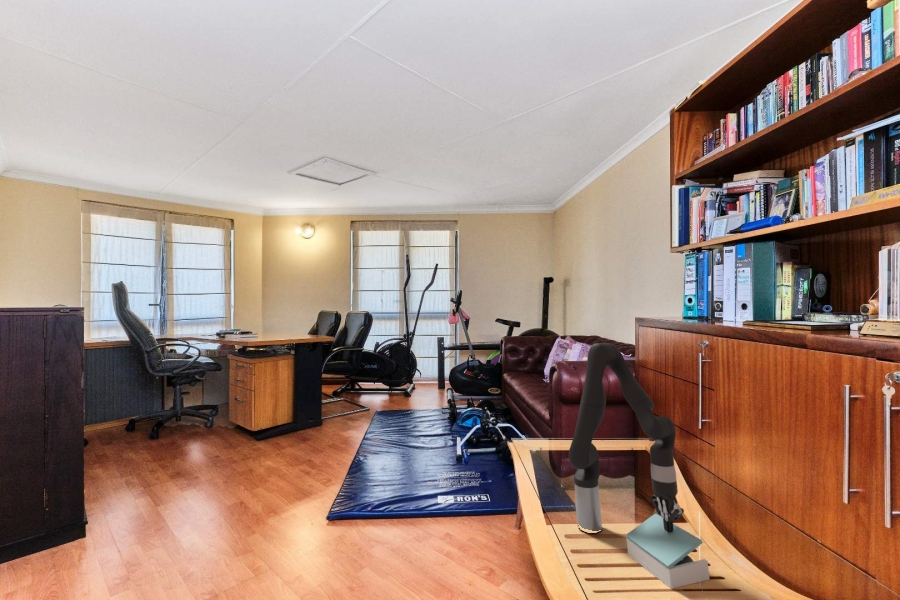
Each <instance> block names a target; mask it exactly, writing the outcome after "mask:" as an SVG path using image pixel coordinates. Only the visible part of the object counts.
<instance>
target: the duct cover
mask: <svg viewBox="0 0 900 600" xmlns="http://www.w3.org/2000/svg"><path fill="white" fill-rule="evenodd" d="M673 528H674V530H673V532H667V531H665V530H664V524H663V518H662V517H661V515H659V514H658V513H657V512H656V513H654V514H652V515H651V516H650V517H648V518H647V519H646V520H645V521H643V522H641V523H640V524H638V525H637V526H636V527H635V528H633V529H632V530H630V531H629V532H628V533H626V534H625V537H626V539H627V538H628V539H629V540H630V541H632V542H633V543H634V544H636V545H637V546H638V547H640V548H641V549H642V550H644V551H645V552H647V553H648V554H649V555H651V556H652V557H653V558H655V559H656V560H657V561H659V562H660V563H661V564H663V565H664V566H665V567H667V568H668V569H670V568H671V567H673V566H674V565H675V564H677V563H678V562H679V561H680V560H682V559H683V558H684V557H685V556H687V555H688V556H689V554H690V553H692V552H693V551H695V550H696V549H697V548H698V547H700V546H701V545H703V543H704V542H703V541H702V539H701V538H699V537H697V536H695V535H694V534H692V533H690V532H688V531H687V530H685V529H683V528H681V527H680V526H678V525H676V524H675V523H673Z"/></svg>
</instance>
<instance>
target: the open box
mask: <svg viewBox="0 0 900 600" xmlns="http://www.w3.org/2000/svg"><path fill="white" fill-rule="evenodd" d="M626 546H627V555H628V556H629V557H630V558H632V559H633V560H635V562H637V563H638V564H639V565H641V566H642V567H643V568H645V570H647V571H648V572H649V573H651V574H652V575H653V576H655V577H656V578H657V579H658V580H659V581H661V582H662V583H664V584H665V586H667V587H668V588H670V589H676V588H680V587H683V586H688V585H692V584H695V583H697V584H698V583H700V582H705V581H709V580H710V571H709V563H708V560H707V559H705V558H704V559H700V560H699V559H698V560H696V561H694V560H693V561H694V562H690V563H685V564H681V565H676V566H673V567H671V568H670V569H668V568H667V567H665V566H664V565H663V564H661V563H660V562H659V561H657V560H656V559H655V558H653V557H652V556H651V555H649V554H648V553H647V552H645V551H644V550H642V549H641V548H640V547H638V546H637V545H636V544H634V543H633V542H632V541H630V540H629V539H628V538H626Z"/></svg>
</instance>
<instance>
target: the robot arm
mask: <svg viewBox="0 0 900 600" xmlns="http://www.w3.org/2000/svg"><path fill="white" fill-rule="evenodd" d="M588 349H589V350H588V351H587V352H588V353H587V357H586V358H587V361H586V370H585V372H586V373H585V379H584V384H583V389H582V390H583V391H582V395H581V398H580V404H579V409H578V415H577V420H576V426H575V430H574V435H573V436H572V440H571V444H570V447H569V449H568V450H569V451H568V460H569V462H570V464H571V465H572V467H573V468H575V469H576V472H575V474H574V476H573V483H574V484H573V485H574V495H575V499H574V505H575V515H576V518H577V519H576V523H577V522H578V524H579V525H580V526H581V527H582V528H584V529H588V530H592V531H599V530H601V529H602V530H603V524H602V512H601V511H602V509H601V501H600V499H601V498H600V488H599V479H600V458H599V451H598V448H596V446H595V444H594V443H592V442H593V438H594V436H595V434H596V432H597V430H598V428H600V427H599V426H600V425H601V423H602V420H603V418H604V415H605V411H606V410H605V409H606V404H607V397H606V396H607V395H606V393H605V388H604V385H603V384H604V383H603V379H604V375H605V374H604V373H605V370H606V367H607V368H609V369H610V370H611V371H612V372H613V373H614V374H615V376H616V377H617V379H618V382H619V386H620V389H621V390H620V391H621V392H622V393H621V394H622V395H623V397H624V399H625V400H626V402H627V403H628V404H629V406H630V407H631V409H632V410H633V411H634V412H635V416H636V419H637V420H638V422H639V426H640V428H641V430H642V432H643V433H644V434H645V435H646V436H647V438H650V439H651V440H654V442H653V444H652V445H650V447H649V456H650V476H651V477H650V478H651V486H652V488H651V489H652V491H653V492H654V494H653V495H650V496H649V498H650V500H651V502H652V504H653V507H654V509H655V510H656V511H655V512H656V514H658V515H659V516H661V517H662V518H663V524H664V530H665V531H667V532H673V530H674V528H673V524H674V522H675V521H679V519H680V518H681V517H682V515H683V514H684V513H685V509H684V508H683V507H680V506H679V505H678V500H677V495H678V491H679V489H678V482H677V481H678V479H677V472H676V467H675V461H674V460H675V459H674V448H675V441H676V433H677V431H676V427H675V424H674V422H673V420H672V419H671V418H670V417H668V416H666V415H658V416H655V415H654V412H653V410H654V409H655V403H654V402H653V401H652V399H651V398H650V396H649V395H648V394H647V393H646V391H645V390H644V389H643V388H642V386H641V384H639V382H638V381H637V378H636V377H635V375H634V374H633V372H632V371H631V369H630V367H629V365H628V364H627V362H626V360H625V357H624V356H623V354H622V352H621V351H620V348H618V347H617V345H616V344H614V343H611V342H595V343H593V344H592V345H591V346H590V347H589V348H588Z"/></svg>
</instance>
